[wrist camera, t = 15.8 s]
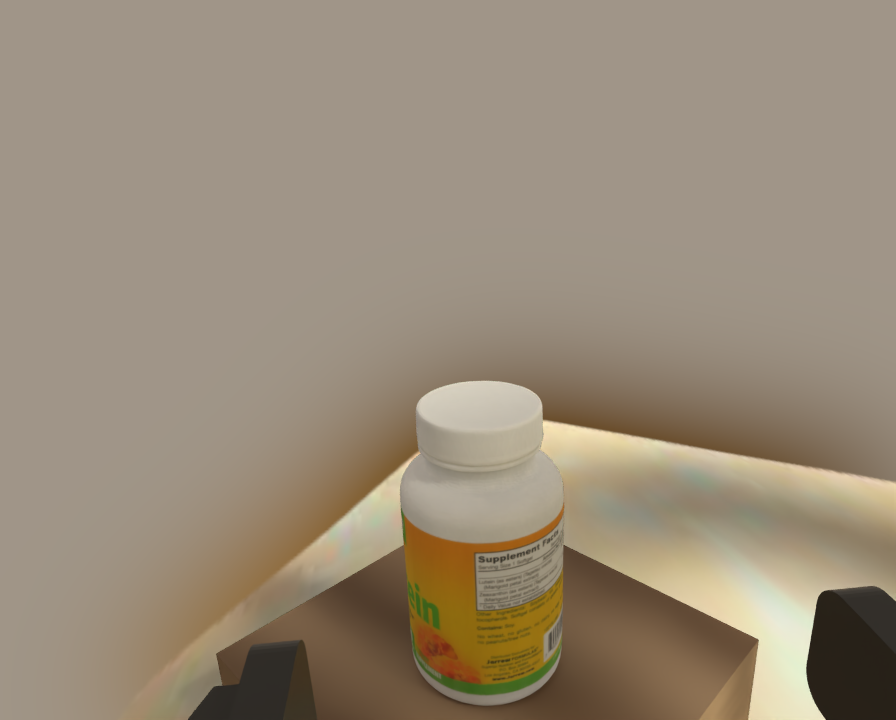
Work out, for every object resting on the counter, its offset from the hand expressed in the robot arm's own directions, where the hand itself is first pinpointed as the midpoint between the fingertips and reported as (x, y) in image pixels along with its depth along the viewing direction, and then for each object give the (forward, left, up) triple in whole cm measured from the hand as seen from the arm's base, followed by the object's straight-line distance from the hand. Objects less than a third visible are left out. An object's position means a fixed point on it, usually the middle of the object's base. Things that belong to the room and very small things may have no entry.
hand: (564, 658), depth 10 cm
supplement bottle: (-7, -8, -10) cm, 15 cm away
